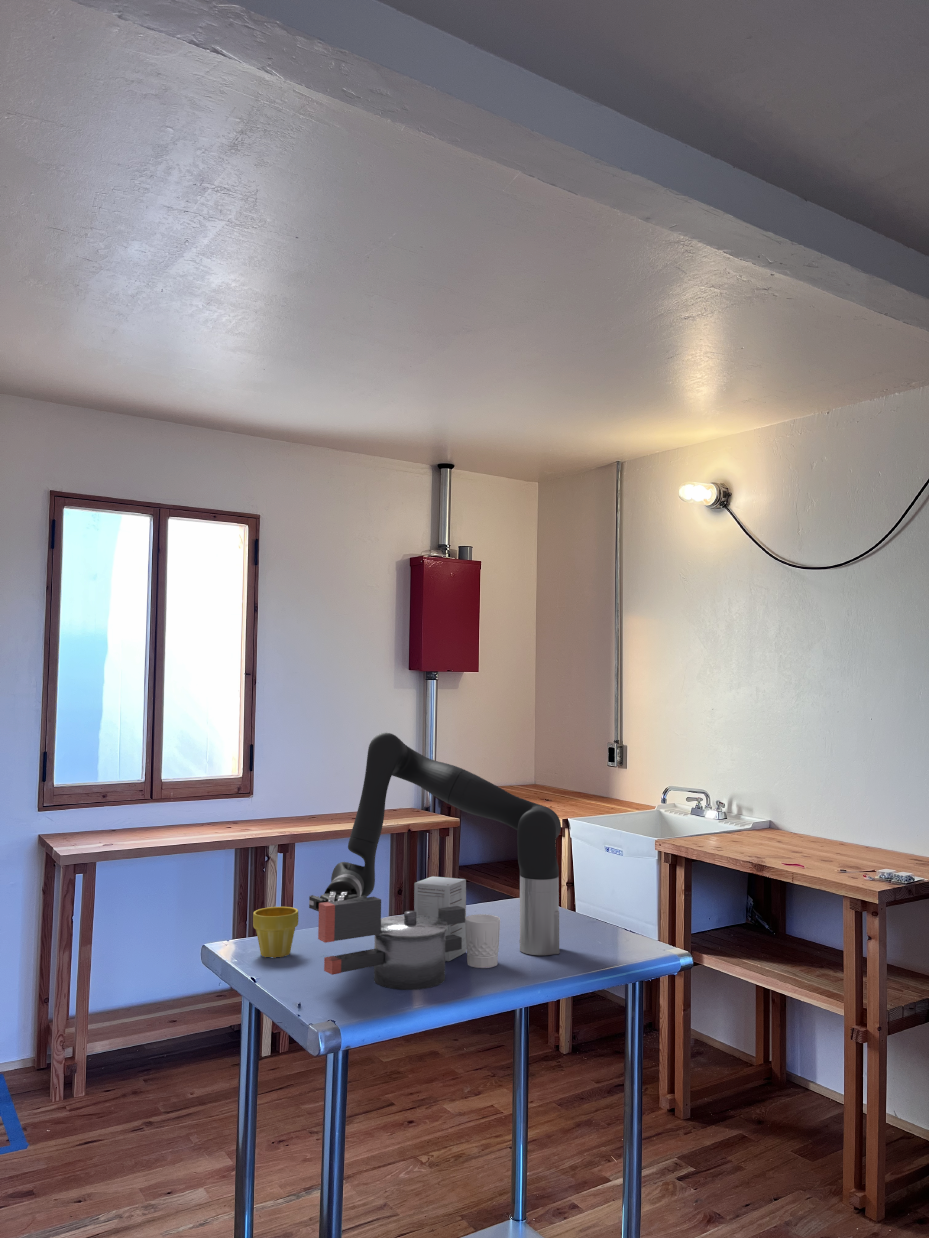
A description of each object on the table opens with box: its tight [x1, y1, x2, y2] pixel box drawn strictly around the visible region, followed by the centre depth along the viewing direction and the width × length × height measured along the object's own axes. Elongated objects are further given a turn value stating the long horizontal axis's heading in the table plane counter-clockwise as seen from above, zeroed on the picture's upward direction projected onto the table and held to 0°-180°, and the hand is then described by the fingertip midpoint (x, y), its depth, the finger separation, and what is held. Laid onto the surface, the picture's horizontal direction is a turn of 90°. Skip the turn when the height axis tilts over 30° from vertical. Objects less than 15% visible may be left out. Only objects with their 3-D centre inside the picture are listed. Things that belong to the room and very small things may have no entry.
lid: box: [317, 896, 465, 944], centre depth 192 cm, size 33×16×7 cm, turn 123°
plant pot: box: [252, 906, 299, 959], centre depth 211 cm, size 10×10×10 cm
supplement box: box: [413, 875, 467, 962], centre depth 212 cm, size 10×9×17 cm
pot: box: [323, 932, 462, 991], centre depth 191 cm, size 27×23×10 cm
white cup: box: [465, 913, 501, 969], centre depth 205 cm, size 8×8×10 cm
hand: (331, 911), depth 187 cm, fingers closed
